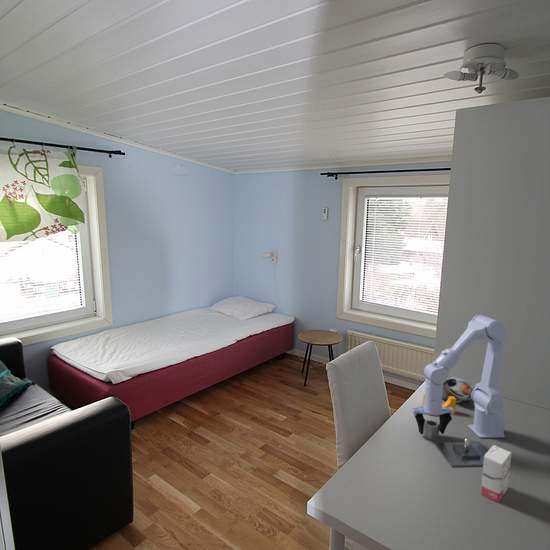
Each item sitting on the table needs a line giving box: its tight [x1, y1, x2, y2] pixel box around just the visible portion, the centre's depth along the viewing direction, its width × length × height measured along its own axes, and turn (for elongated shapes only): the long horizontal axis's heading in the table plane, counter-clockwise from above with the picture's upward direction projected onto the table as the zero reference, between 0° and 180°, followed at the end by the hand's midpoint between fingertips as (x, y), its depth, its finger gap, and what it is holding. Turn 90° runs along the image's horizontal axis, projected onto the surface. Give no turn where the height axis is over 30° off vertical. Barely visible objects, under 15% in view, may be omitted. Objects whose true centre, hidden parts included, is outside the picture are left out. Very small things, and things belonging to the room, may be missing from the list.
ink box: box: [480, 444, 512, 503], centre depth 107 cm, size 9×5×12 cm, turn 132°
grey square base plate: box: [434, 437, 489, 468], centre depth 124 cm, size 16×12×6 cm
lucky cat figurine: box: [442, 375, 474, 404], centre depth 161 cm, size 15×12×14 cm
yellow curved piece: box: [422, 394, 457, 416], centre depth 152 cm, size 12×4×6 cm, turn 85°
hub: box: [422, 419, 440, 441], centre depth 135 cm, size 5×5×5 cm
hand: (431, 432), depth 135 cm, fingers open, 7 cm apart
